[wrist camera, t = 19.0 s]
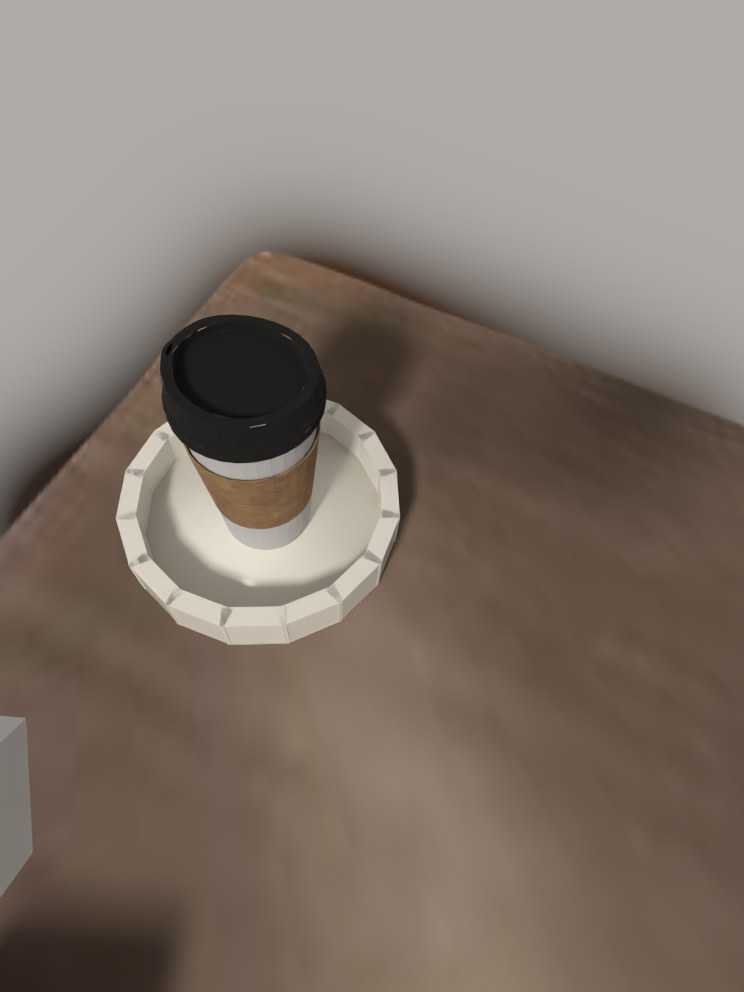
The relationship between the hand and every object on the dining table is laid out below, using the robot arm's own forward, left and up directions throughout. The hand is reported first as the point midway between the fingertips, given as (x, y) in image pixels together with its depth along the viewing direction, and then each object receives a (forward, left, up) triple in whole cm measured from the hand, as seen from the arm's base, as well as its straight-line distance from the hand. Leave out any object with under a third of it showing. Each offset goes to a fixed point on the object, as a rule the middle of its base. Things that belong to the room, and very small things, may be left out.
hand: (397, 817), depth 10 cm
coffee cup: (-10, -18, -26) cm, 33 cm away
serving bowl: (-10, -19, -26) cm, 34 cm away
